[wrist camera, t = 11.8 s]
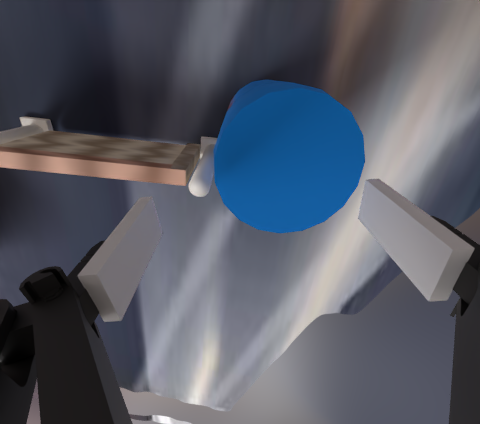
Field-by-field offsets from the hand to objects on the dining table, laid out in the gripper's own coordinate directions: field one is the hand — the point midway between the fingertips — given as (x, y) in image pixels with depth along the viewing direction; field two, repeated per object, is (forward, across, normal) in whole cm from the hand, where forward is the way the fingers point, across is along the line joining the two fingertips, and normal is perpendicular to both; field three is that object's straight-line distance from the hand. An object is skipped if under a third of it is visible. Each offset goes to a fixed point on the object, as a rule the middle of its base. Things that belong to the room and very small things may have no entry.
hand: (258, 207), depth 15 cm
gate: (+26, -20, -1) cm, 33 cm away
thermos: (+28, +3, +1) cm, 28 cm away
